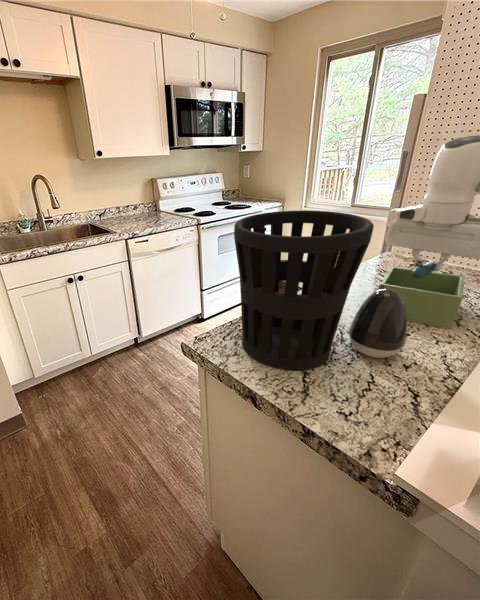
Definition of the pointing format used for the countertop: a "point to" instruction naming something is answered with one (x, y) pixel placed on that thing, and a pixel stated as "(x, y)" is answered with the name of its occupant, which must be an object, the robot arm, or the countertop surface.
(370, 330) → the dark brown egg shape
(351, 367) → the countertop surface
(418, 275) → the teal rounded rod
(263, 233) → the wastebasket
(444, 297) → the bin
